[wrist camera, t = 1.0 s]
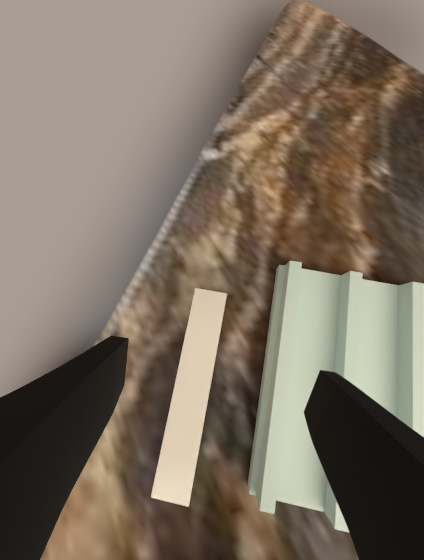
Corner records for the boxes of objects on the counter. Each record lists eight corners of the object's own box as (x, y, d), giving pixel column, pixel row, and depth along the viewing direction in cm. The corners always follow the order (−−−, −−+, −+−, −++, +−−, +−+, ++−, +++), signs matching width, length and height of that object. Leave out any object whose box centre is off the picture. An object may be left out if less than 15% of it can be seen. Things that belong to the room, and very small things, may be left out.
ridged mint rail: (476, 539, 17) (520, 574, 15) (247, 485, 18) (252, 508, 16) (464, 300, 21) (496, 296, 18) (276, 267, 22) (284, 259, 20)
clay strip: (194, 470, 19) (188, 506, 15) (164, 463, 19) (150, 497, 15) (225, 300, 22) (227, 293, 18) (199, 295, 22) (195, 287, 18)
